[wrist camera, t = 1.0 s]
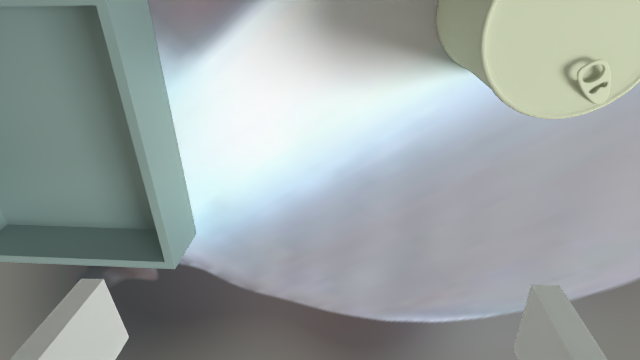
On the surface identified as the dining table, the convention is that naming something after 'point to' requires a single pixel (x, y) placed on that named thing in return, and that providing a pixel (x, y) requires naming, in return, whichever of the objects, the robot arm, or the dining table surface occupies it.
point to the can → (546, 50)
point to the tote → (87, 138)
